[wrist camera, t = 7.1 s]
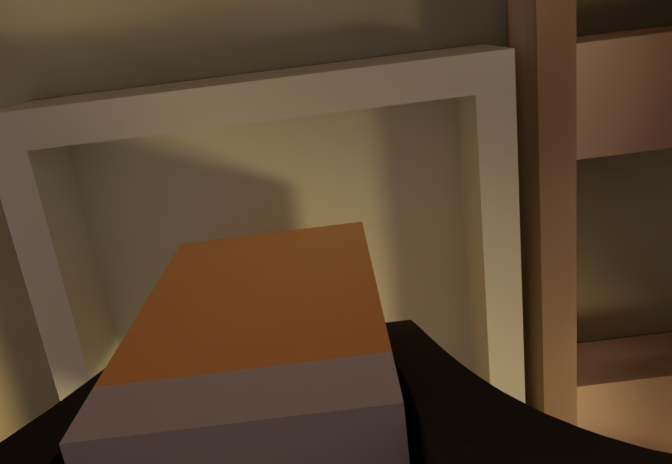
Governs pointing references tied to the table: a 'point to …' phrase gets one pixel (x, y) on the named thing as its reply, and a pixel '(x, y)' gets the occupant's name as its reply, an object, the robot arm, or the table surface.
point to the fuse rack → (561, 212)
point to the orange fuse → (252, 361)
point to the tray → (277, 194)
